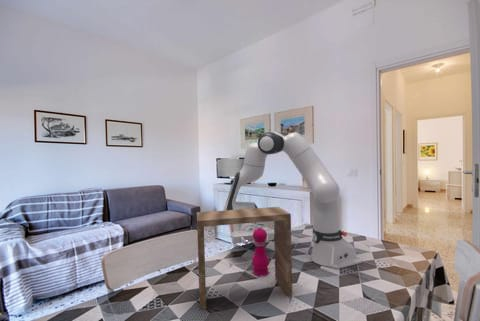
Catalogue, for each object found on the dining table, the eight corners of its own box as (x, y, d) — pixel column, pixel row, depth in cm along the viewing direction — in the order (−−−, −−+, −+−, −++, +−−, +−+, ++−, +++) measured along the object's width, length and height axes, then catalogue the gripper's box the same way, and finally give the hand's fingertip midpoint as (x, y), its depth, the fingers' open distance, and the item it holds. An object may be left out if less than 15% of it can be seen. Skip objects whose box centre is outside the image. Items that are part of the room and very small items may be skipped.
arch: (280, 278, 96) (278, 206, 95) (292, 295, 84) (290, 213, 84) (199, 289, 90) (196, 212, 89) (200, 309, 78) (197, 221, 77)
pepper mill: (268, 277, 98) (267, 228, 97) (251, 275, 99) (249, 227, 98) (270, 268, 105) (269, 223, 104) (253, 267, 106) (252, 222, 106)
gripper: (229, 227, 119) (233, 236, 105) (268, 224, 123) (277, 232, 109) (229, 240, 119) (234, 251, 106) (268, 236, 123) (278, 246, 109)
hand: (256, 241), depth 107 cm, fingers open, 8 cm apart
